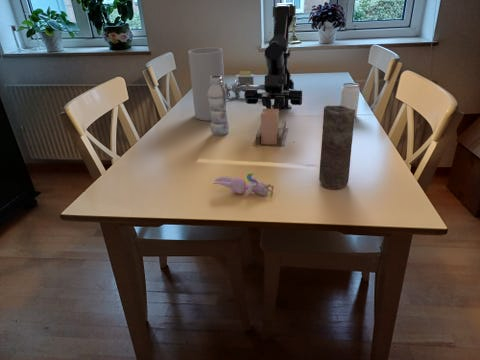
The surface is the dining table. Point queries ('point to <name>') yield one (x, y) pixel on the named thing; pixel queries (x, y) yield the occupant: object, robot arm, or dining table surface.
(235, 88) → the spaceship
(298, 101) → the robot arm
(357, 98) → the can
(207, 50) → the cylinder vase
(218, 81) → the plastic bottle
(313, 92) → the dining table surface
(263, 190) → the purple toy figure
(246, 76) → the platform
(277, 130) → the block
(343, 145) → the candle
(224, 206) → the dining table surface
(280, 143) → the chute
